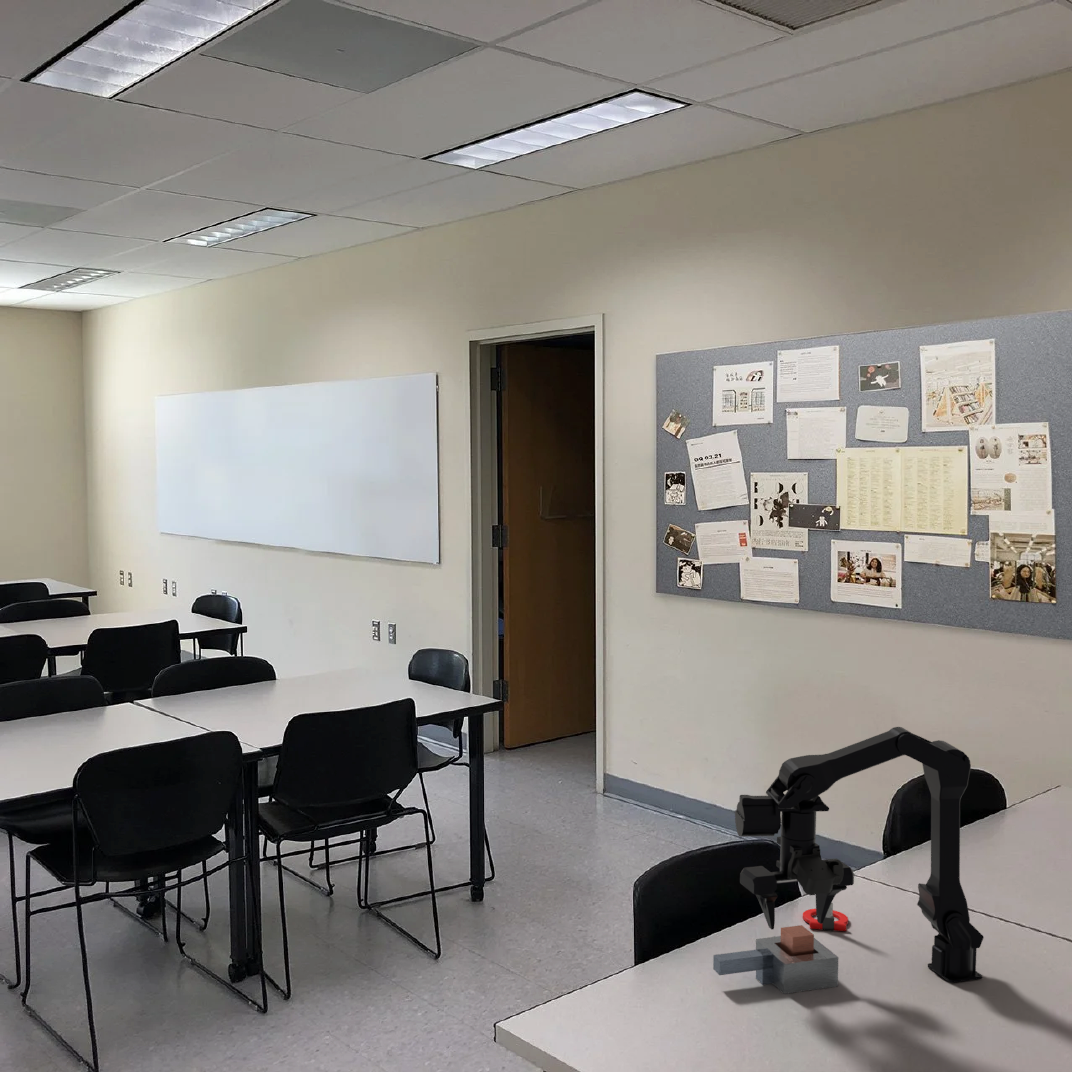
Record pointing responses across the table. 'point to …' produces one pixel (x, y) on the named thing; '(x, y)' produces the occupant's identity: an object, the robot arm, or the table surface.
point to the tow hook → (827, 920)
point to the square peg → (797, 941)
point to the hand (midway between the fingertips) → (795, 925)
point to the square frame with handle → (782, 966)
